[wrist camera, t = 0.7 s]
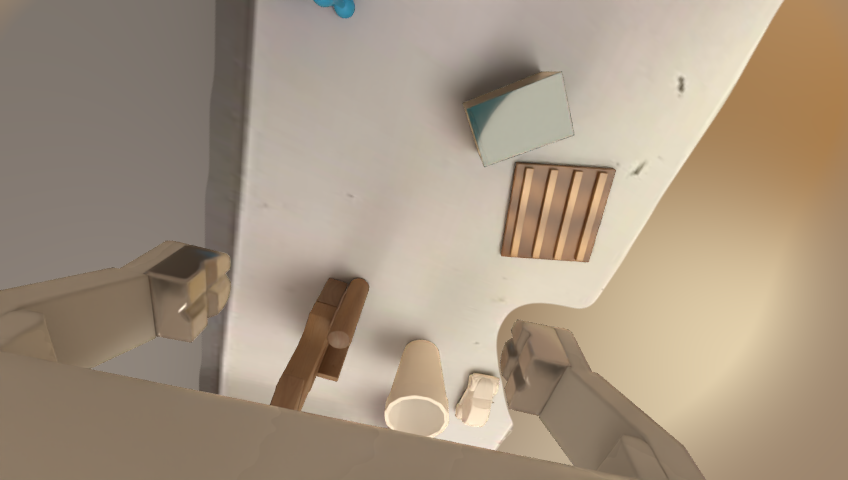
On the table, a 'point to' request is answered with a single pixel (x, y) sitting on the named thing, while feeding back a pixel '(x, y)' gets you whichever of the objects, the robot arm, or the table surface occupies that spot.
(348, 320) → the wooden toy
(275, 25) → the table surface
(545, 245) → the drying rack
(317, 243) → the table surface
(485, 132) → the mirrored box
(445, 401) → the foam cup
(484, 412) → the car
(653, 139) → the table surface
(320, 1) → the molecular structure
